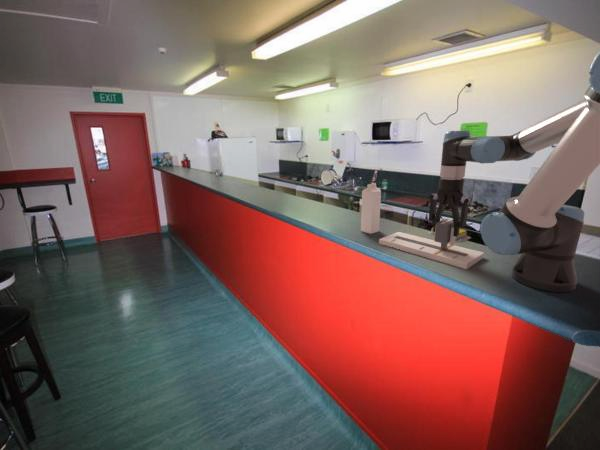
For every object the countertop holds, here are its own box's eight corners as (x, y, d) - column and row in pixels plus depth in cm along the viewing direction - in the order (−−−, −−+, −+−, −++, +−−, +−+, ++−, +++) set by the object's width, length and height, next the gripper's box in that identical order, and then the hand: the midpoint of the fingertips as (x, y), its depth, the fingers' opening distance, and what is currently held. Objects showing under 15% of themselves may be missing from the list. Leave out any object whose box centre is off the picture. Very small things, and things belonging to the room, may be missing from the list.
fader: (453, 247, 110) (457, 220, 108) (444, 252, 106) (447, 224, 103) (443, 244, 113) (445, 218, 111) (433, 249, 109) (436, 222, 106)
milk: (379, 231, 139) (382, 183, 133) (370, 234, 135) (373, 185, 129) (368, 228, 144) (371, 182, 137) (360, 231, 140) (362, 183, 134)
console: (483, 257, 107) (484, 251, 106) (466, 269, 98) (467, 262, 97) (398, 236, 132) (398, 231, 131) (379, 243, 123) (379, 238, 123)
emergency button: (440, 221, 138) (473, 229, 126) (439, 230, 140) (471, 238, 127) (427, 224, 134) (460, 233, 121) (426, 234, 135) (459, 243, 123)
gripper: (484, 179, 98) (475, 246, 105) (431, 174, 111) (426, 234, 118) (475, 181, 94) (465, 251, 100) (421, 177, 107) (416, 239, 113)
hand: (444, 242), depth 109 cm, fingers open, 5 cm apart
